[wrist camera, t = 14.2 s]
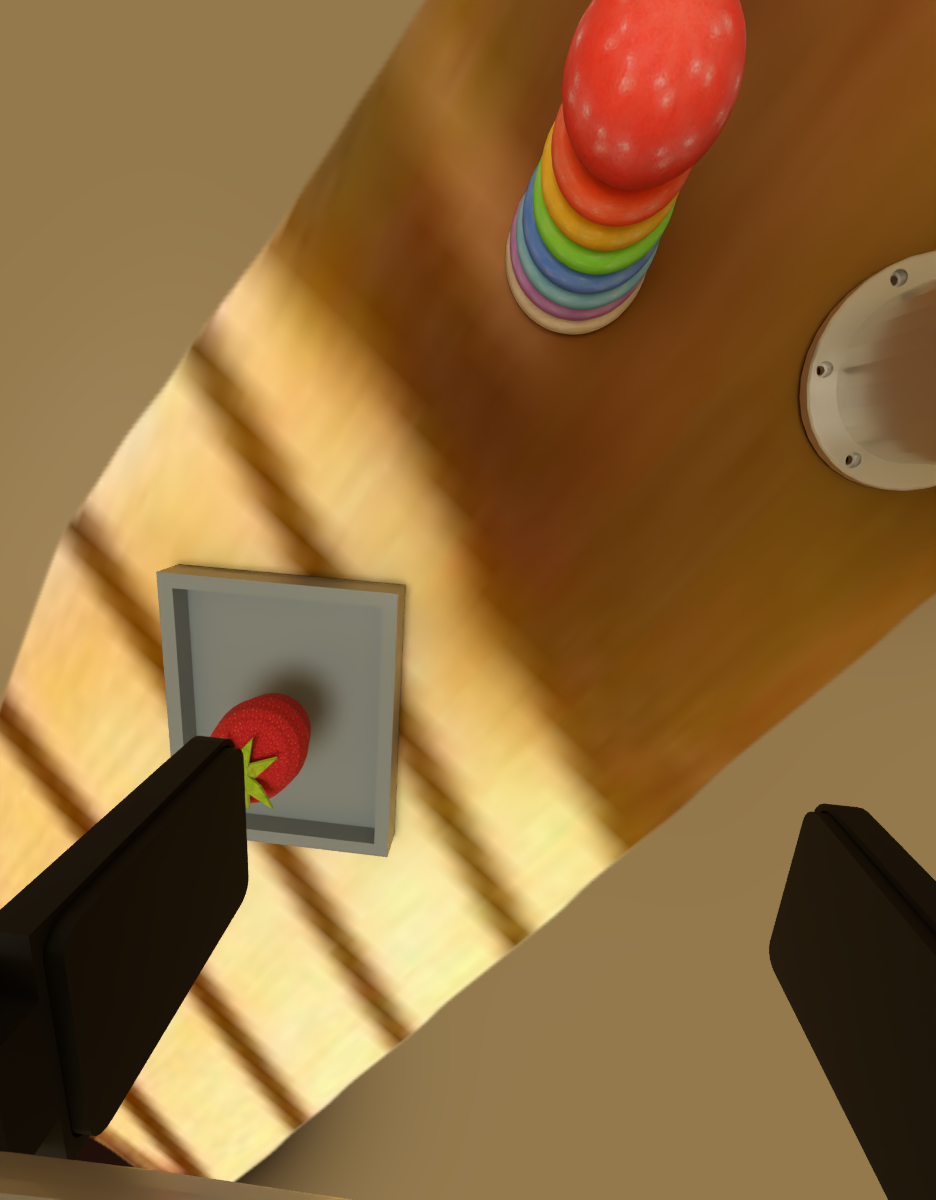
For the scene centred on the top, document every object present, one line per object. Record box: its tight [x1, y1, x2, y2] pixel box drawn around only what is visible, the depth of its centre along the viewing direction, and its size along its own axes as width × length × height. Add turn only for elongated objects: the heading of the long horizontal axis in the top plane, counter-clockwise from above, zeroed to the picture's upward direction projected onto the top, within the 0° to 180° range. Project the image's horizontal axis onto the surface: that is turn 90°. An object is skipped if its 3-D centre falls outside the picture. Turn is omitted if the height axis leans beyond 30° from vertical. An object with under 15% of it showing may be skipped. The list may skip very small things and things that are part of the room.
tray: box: [156, 564, 405, 857], centre depth 40 cm, size 16×20×2 cm
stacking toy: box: [505, 0, 746, 334], centre depth 23 cm, size 8×8×19 cm
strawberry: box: [210, 693, 311, 810], centre depth 35 cm, size 6×8×10 cm
